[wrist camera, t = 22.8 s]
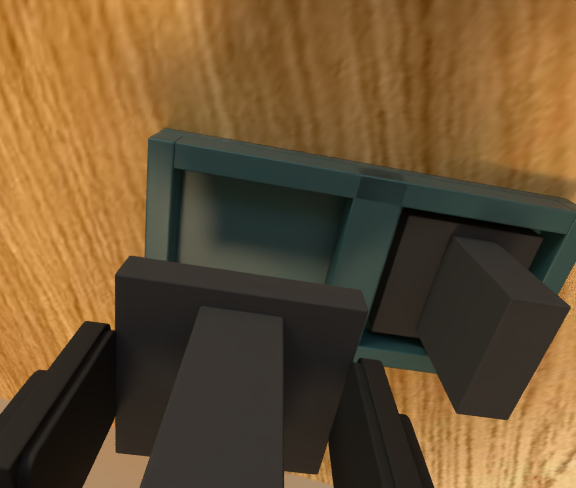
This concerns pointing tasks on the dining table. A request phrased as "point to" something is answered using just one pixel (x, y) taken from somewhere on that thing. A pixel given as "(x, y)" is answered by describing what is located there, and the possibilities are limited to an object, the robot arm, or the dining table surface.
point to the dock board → (322, 219)
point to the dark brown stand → (469, 306)
